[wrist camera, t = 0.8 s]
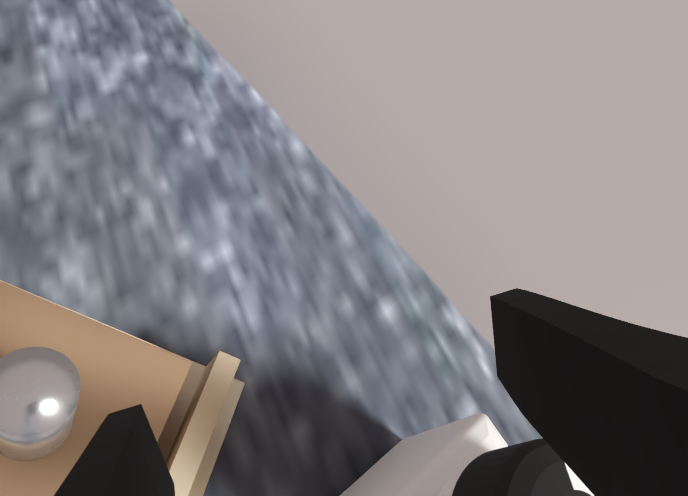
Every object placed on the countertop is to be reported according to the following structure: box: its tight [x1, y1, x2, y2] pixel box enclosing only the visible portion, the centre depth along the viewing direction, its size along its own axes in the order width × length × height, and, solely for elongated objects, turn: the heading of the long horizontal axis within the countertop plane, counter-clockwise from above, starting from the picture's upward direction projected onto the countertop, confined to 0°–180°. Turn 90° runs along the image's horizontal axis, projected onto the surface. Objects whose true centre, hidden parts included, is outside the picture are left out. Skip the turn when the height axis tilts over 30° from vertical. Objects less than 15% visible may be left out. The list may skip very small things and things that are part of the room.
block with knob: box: [0, 281, 192, 496], centre depth 19 cm, size 8×8×9 cm
